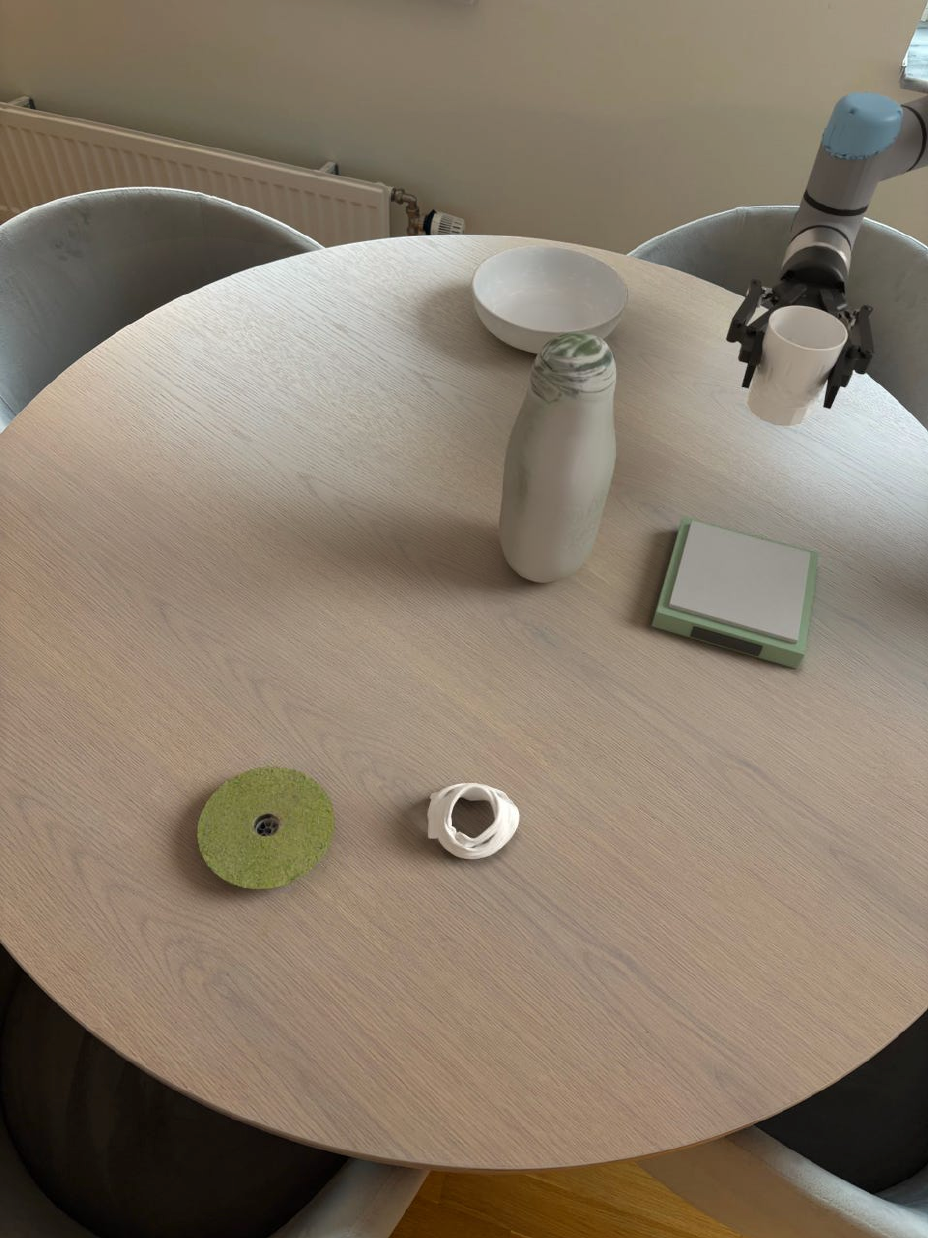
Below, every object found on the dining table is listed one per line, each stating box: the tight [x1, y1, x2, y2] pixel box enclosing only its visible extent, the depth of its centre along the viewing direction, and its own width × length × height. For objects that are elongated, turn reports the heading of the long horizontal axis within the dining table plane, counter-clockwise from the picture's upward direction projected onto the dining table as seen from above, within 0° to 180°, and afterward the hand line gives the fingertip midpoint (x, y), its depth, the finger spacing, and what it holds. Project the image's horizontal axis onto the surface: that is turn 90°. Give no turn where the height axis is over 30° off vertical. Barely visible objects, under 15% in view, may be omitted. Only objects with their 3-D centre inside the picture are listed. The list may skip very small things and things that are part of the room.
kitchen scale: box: [651, 515, 820, 670], centre depth 100 cm, size 15×15×3 cm
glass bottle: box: [498, 332, 617, 584], centre depth 92 cm, size 10×10×28 cm
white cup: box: [746, 306, 849, 427], centre depth 100 cm, size 8×8×10 cm
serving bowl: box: [470, 244, 629, 354], centre depth 128 cm, size 21×21×7 cm
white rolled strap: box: [426, 782, 520, 860], centre depth 81 cm, size 8×7×5 cm
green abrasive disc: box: [196, 765, 335, 890], centre depth 80 cm, size 11×11×2 cm
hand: (789, 386), depth 96 cm, fingers closed on white cup, 8 cm apart
